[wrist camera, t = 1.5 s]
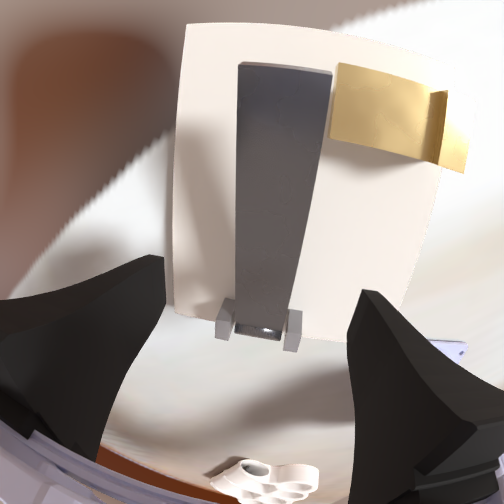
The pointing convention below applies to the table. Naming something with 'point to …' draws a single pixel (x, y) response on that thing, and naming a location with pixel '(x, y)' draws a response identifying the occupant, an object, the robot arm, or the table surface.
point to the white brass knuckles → (267, 482)
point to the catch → (400, 116)
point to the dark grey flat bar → (274, 185)
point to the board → (325, 190)
